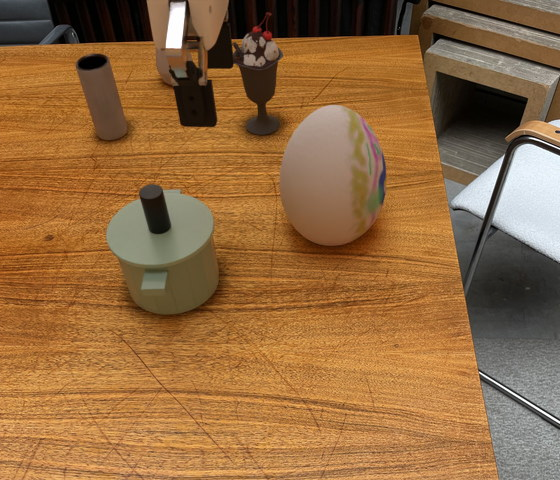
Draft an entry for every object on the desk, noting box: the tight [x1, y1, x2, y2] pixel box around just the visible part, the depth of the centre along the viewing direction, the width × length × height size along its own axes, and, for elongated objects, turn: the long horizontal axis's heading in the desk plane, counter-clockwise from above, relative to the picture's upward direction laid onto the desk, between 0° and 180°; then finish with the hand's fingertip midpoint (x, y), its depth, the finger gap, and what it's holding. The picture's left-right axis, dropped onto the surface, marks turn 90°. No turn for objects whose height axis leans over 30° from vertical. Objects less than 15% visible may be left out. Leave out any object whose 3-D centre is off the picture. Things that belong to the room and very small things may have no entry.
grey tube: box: [74, 53, 129, 141], centre depth 88 cm, size 4×4×10 cm
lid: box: [105, 183, 215, 268], centre depth 66 cm, size 11×11×6 cm
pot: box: [117, 188, 220, 316], centre depth 70 cm, size 10×16×8 cm, turn 179°
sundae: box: [232, 12, 284, 136], centre depth 85 cm, size 7×7×15 cm
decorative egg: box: [278, 104, 388, 247], centre depth 72 cm, size 12×12×15 cm
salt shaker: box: [154, 45, 194, 87], centre depth 95 cm, size 6×6×13 cm
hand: (208, 94), depth 58 cm, fingers open, 9 cm apart
